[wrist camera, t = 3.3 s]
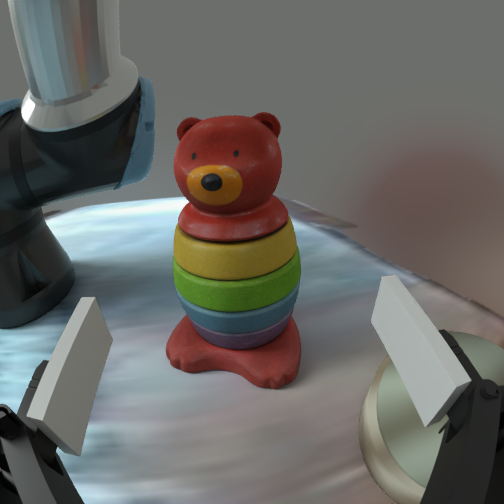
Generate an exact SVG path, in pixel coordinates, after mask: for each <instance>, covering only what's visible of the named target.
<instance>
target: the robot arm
mask: <svg viewBox="0 0 504 504" xmlns="http://www.w3.org/2000/svg"><path fill="white" fill-rule="evenodd" d="M8 4H9V10H10V15H11V21H12V25H13V30H14V35H15V39H16V43H17V47H18V51H19V54H20V59H21V62H22V65H23V69H24V72H25V76H26V79H27V82H28V85H29V90H28V92H27V94H26V96H25V97H24V100H23V101H22V100H21V99H19V98H14V99H9V100H5V101H2V102H0V328H9V327H15V326H19V325H22V324H25V323H27V322H30V321H32V320H34V319H36V318H38V317H39V316H41V315H43V314H44V313H46V312H47V311H49V310H50V309H51V308H53V307H54V306H55V305H56V304H57V303H58V302H59V301H60V300H61V299H62V298H63V297H64V296H65V295H66V294H67V292H68V291H69V289H70V288H71V286H72V284H73V281H74V270H73V267H72V264H71V261H70V259H69V256H68V255H67V253H66V252H65V251H64V249H63V248H62V246H61V245H60V243H59V242H58V240H57V239H56V238H55V236H54V235H53V233H52V232H51V230H50V229H49V227H48V226H47V224H46V222H45V220H44V216H43V212H42V209H41V206H44V205H48V204H51V203H55V202H59V201H64V200H68V199H72V198H76V197H80V196H85V195H89V194H93V193H98V192H103V191H108V190H116V189H119V188H121V187H122V186H125V185H129V184H133V183H137V182H140V181H142V180H143V179H145V178H146V177H147V175H148V174H149V172H150V170H151V166H152V162H153V154H154V140H155V139H154V138H155V137H154V136H155V131H154V119H155V100H154V90H153V85H152V82H151V80H150V79H148V78H143V77H138V70H137V68H136V66H135V64H134V63H133V62H132V61H131V60H129V59H127V58H126V57H124V56H121V55H120V36H119V0H8ZM371 323H372V324H373V326H374V328H375V330H376V332H377V333H378V335H379V337H380V339H381V341H382V343H383V344H384V346H385V348H386V350H387V352H388V354H389V356H390V358H391V359H392V361H393V363H394V365H395V367H396V369H397V371H398V373H399V375H400V377H401V379H402V381H403V383H404V385H405V387H406V389H407V391H408V393H409V395H410V397H411V399H412V401H413V403H414V405H415V407H416V409H417V411H418V414H419V416H420V418H421V420H422V422H423V424H424V426H425V428H426V427H428V426H431V425H433V424H435V423H438V422H440V421H441V420H442V418H443V417H444V416H445V415H446V414H447V416H448V418H449V420H448V421H447V422H446V423H445V424H444V425H443V426H442V428H441V429H440V430H439V432H438V433H439V434H440V433H441V432H442V431H443V430H444V429H445V430H444V434H443V438H442V441H441V445H440V448H439V452H438V455H437V458H436V461H435V464H434V467H433V470H432V473H431V476H430V479H429V481H428V484H427V487H426V489H425V492H424V494H423V497H422V499H421V502H420V504H504V385H502V386H498V385H497V384H496V383H495V382H494V381H492V380H490V379H482V377H481V376H480V375H479V373H478V372H477V370H476V369H475V367H474V366H473V364H472V363H471V361H470V360H469V358H468V357H467V355H466V354H465V353H464V351H463V350H462V348H461V347H459V344H458V342H457V341H456V340H455V338H454V337H453V336H452V335H451V334H450V333H448V332H447V331H446V330H444V329H443V330H439V331H438V330H437V328H436V327H435V326H434V324H433V323H432V322H431V320H430V319H429V317H428V316H427V315H426V313H425V312H424V311H423V309H422V308H421V307H420V305H419V304H418V303H417V301H416V300H415V299H414V298H413V296H412V295H411V294H410V292H409V291H408V290H407V289H406V287H405V286H404V285H403V284H402V282H401V281H400V280H399V279H398V277H397V276H396V275H390V276H382V278H381V283H380V287H379V291H378V295H377V299H376V303H375V307H374V310H373V314H372V318H371ZM112 341H113V339H112V337H111V334H110V332H109V330H108V327H107V325H106V323H105V320H104V318H103V315H102V313H101V310H100V308H99V305H98V303H97V300H96V297H81V299H80V301H79V303H78V305H77V306H76V308H75V310H74V312H73V314H72V316H71V318H70V320H69V321H68V323H67V325H66V327H65V329H64V331H63V333H62V335H61V337H60V339H59V341H58V343H57V345H56V347H55V349H54V352H53V354H52V356H51V358H50V360H49V361H47V360H43V361H42V363H41V364H40V365H39V366H38V367H37V368H36V370H35V372H34V374H33V376H32V380H31V381H30V383H29V385H28V387H29V388H27V390H26V392H25V395H24V397H23V400H22V402H21V405H20V407H19V410H18V412H17V415H16V414H15V413H14V412H13V411H12V410H11V409H10V407H8V406H7V405H5V404H0V504H84V502H83V500H82V499H81V497H80V495H79V494H78V492H77V490H76V488H75V486H74V485H73V483H72V481H71V479H70V477H69V475H68V473H67V471H66V469H65V467H64V465H63V463H62V461H61V459H60V457H59V456H58V454H57V453H56V449H57V447H59V448H60V449H61V450H62V451H63V452H64V453H68V454H72V455H76V456H80V455H81V451H82V446H83V442H84V438H85V433H86V429H87V425H88V421H89V417H90V414H91V410H92V406H93V403H94V399H95V395H96V392H97V389H98V385H99V382H100V379H101V375H102V372H103V369H104V366H105V363H106V359H107V356H108V353H109V350H110V347H111V344H112Z"/></svg>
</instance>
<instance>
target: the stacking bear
mask: <svg viewBox="0 0 504 504" xmlns="http://www.w3.org/2000/svg"><path fill="white" fill-rule="evenodd" d="M280 129H281V127H280V123H279V121H278V119H277V118H276V117H275V116H274V115H272V114H270V113H266V112H262V113H258V114H256V115H255V116H253V117H246V116H236V115H235V116H220V117H214V118H209V119H205V120H200V119H198V118H193V117H190V118H186V119H185V120H183V121H182V122H181V123H180V125H179V126H178V128H177V136H178V138H179V140H180V143H179V145H178V147H177V150H176V153H175V157H174V174H175V178H176V181H177V183H178V186H179V188H180V190H181V192H182V193H183V195H184V196H185V197H186V199H187V200H188V201H189V203H188V204H187V205H186V206H185V207H184V208H183V210H182V211H181V213H180V215H179V218H178V224H177V226H176V229H175V235H174V256H173V275H174V283H175V286H176V291H177V294H178V297H179V299H180V302H181V304H182V306H183V309H184V311H185V312H186V314H187V315H186V316H185V317H184V318H183V319H182V320H181V321H180V323H179V324H178V325H177V326H176V328H175V329H174V331H173V332H172V334H171V336H170V338H169V340H168V342H167V345H166V355H167V357H168V359H169V360H170V363H171V365H172V366H173V367H174V368H177V369H181V370H182V371H185V372H199V371H204V370H212V369H219V370H227V371H230V372H234V373H237V374H239V375H241V376H243V377H244V378H246V379H247V380H248V381H249V382H251V383H252V384H254V385H256V386H258V387H262V388H265V387H270V388H273V389H278V388H280V387H282V386H283V385H284V384H287V383H290V382H291V381H292V380H293V379H294V378H295V377H296V375H297V372H298V369H299V364H300V358H301V343H300V337H299V332H298V329H297V326H296V324H295V322H294V320H293V318H292V316H291V314H292V311H293V308H294V304H295V302H296V298H297V294H298V289H299V284H300V275H301V265H300V256H299V250H298V247H297V244H296V237H295V232H294V228H293V224H292V221H291V219H290V217H289V216H288V211H287V209H286V207H285V206H284V204H283V203H282V202H281V201H280V200H279V199H278V198H277V197H275V196H274V195H272V194H273V192H274V191H275V189H276V187H277V184H278V181H279V178H280V174H281V168H282V156H281V150H280V147H279V143H278V140H277V138H278V136H279V134H280Z"/></svg>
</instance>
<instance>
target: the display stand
mask: <svg viewBox="0 0 504 504" xmlns="http://www.w3.org/2000/svg"><path fill="white" fill-rule="evenodd" d="M447 332H448V333H450V334H451V335H452V336H453V337H454V338H455V340H456V341H457V342H458V344H459V347H461V348H462V350H463V351H464V353H465V354H466V355H467V357H468V358H469V360H470V361H471V363H472V364H473V366H474V367H475V369H476V370H477V372H478V373H479V375H480V376H481V377H482V379H490V380H492V381H494V382H495V383H496V384H497V385H498V386H502V385H504V349H502V348H501V347H499V346H498V345H496V344H494V343H492V342H490V341H488V340H486V339H483V338H481V337H478V336H475V335H471V334H466V333H461V332H452V331H447ZM448 420H449V418H448V416H447V414H446V415H445V416H444V417H443V418H442V420H441V421H440V422H438V423H435V424H433V425H431V426H428V427H426V428H425V426H424V424H423V422H422V420H421V418H420V416H419V414H418V411H417V409H416V407H415V405H414V403H413V401H412V399H411V397H410V395H409V393H408V391H407V389H406V387H405V385H404V383H403V381H402V379H401V377H400V375H399V373H398V371H397V369H396V367H395V365H394V363H393V361H392V359H391V358H390V356H389V355H388V356H387V357H386V359H385V360H384V361H383V362H382V364H381V366H380V367H379V369H378V371H377V373H376V375H375V377H374V380H373V382H372V384H371V387H370V389H369V391H368V393H367V396H366V398H365V400H364V402H363V406H362V409H361V413H360V420H359V440H360V447H361V451H362V455H363V458H364V461H365V464H366V466H367V468H368V470H369V472H370V474H371V475H372V477H373V478H374V480H375V482H376V483H377V484H378V485H379V487H380V488H381V489H382V490H383V491H384V492H385V493H386V494H387V495H388V496H389V497H391V498H392V499H393V500H394V501H396V502H397V503H399V504H420V502H421V499H422V497H423V494H424V492H425V489H426V487H427V484H428V481H429V479H430V476H431V473H432V470H433V467H434V464H435V461H436V458H437V455H438V452H439V448H440V445H441V441H442V438H443V434H444V430H445V429H444V430H443V431H442V432H441V433H440V434H439V433H438V432H439V430H440V429H441V428H442V426H443V425H444V424H445V423H446V422H447V421H448Z"/></svg>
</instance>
